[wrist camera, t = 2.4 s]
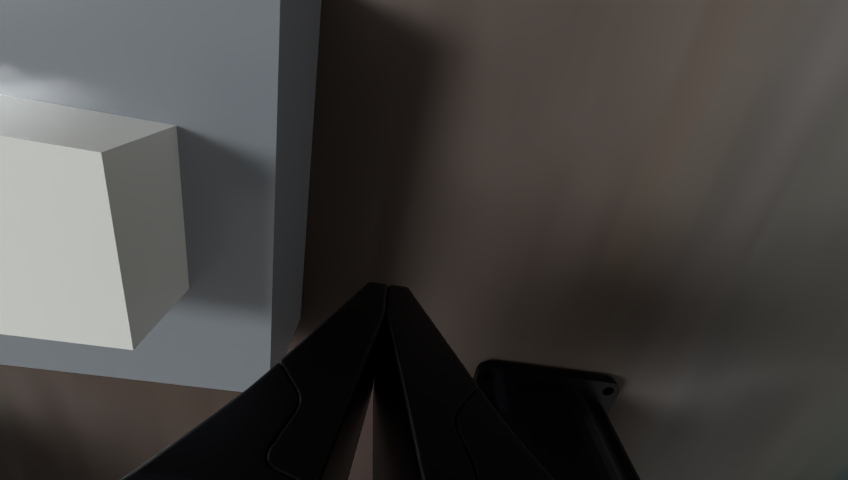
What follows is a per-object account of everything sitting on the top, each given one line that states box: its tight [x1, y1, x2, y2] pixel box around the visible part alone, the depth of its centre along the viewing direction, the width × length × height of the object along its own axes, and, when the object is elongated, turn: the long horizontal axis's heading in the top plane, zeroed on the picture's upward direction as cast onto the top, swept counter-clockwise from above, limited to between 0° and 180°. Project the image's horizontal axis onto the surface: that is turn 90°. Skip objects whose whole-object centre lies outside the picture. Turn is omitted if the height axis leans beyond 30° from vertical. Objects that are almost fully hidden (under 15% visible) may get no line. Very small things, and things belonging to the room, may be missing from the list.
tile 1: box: [0, 94, 189, 350], centre depth 9 cm, size 4×4×2 cm
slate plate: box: [0, 0, 321, 392], centre depth 12 cm, size 12×12×4 cm
